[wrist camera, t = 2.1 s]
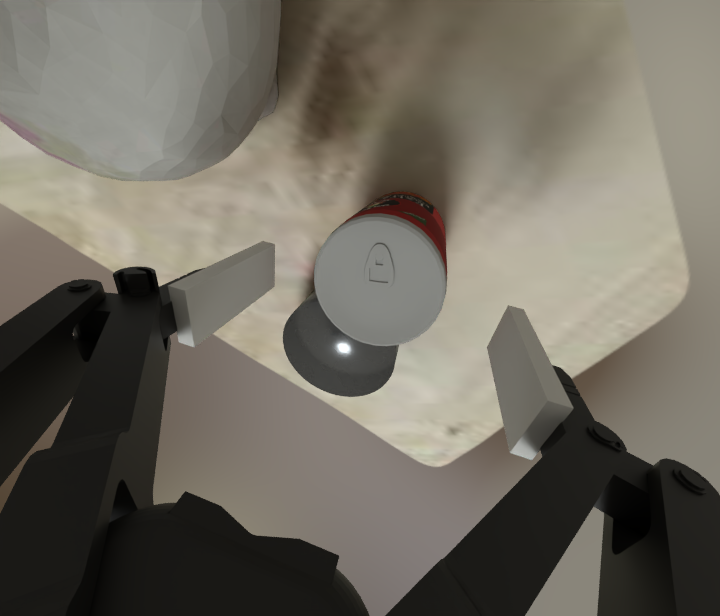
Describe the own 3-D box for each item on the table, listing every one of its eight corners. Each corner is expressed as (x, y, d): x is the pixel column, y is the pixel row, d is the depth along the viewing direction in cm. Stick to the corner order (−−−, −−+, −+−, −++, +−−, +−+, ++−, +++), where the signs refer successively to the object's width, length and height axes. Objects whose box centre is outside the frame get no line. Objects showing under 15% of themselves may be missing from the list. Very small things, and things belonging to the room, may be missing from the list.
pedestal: (307, 266, 29) (284, 286, 25) (413, 294, 27) (408, 320, 23) (301, 349, 35) (281, 377, 30) (389, 376, 33) (381, 409, 29)
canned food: (438, 179, 22) (435, 199, 13) (451, 273, 26) (455, 343, 16) (348, 202, 25) (292, 233, 16) (370, 285, 28) (334, 351, 19)
